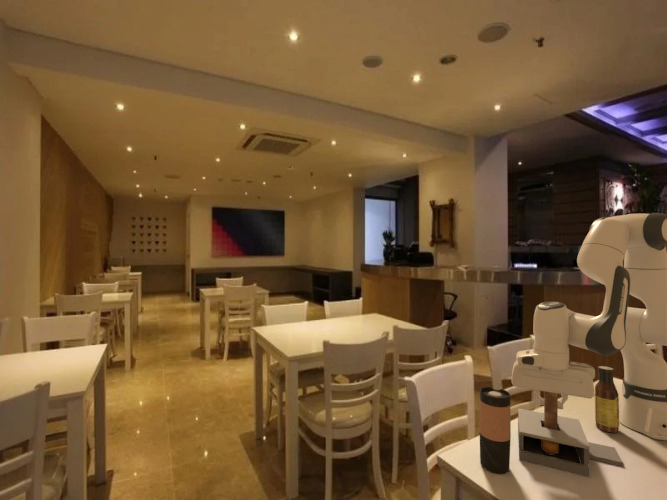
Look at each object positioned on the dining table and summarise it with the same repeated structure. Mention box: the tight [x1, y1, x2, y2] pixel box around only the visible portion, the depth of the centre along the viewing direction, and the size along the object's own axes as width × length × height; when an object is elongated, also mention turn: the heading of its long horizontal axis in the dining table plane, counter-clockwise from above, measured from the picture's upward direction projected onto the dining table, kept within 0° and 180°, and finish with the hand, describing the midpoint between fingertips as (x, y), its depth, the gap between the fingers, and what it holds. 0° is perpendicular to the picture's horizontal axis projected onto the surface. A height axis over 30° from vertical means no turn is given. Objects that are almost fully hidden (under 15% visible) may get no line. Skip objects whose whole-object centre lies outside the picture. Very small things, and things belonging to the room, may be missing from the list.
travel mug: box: [478, 386, 512, 475], centre depth 95 cm, size 8×8×20 cm
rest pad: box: [588, 441, 623, 467], centre depth 100 cm, size 8×8×1 cm
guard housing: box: [517, 408, 591, 478], centre depth 101 cm, size 16×16×8 cm
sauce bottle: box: [594, 365, 620, 433], centre depth 115 cm, size 7×6×20 cm
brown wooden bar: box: [543, 391, 559, 430], centre depth 101 cm, size 3×3×16 cm
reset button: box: [540, 439, 560, 454], centre depth 101 cm, size 4×4×2 cm
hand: (550, 406), depth 101 cm, fingers closed on brown wooden bar, 3 cm apart
